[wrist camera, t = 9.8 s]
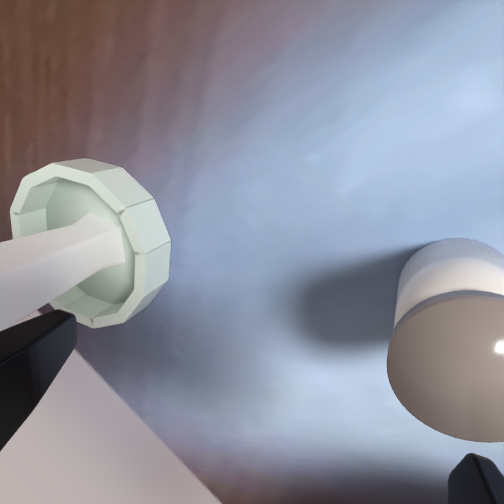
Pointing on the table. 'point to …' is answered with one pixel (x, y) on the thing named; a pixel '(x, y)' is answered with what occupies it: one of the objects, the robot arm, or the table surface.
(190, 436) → the table surface
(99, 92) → the table surface
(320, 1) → the table surface
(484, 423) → the cream jar
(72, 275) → the white faceted vase
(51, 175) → the ring dish
